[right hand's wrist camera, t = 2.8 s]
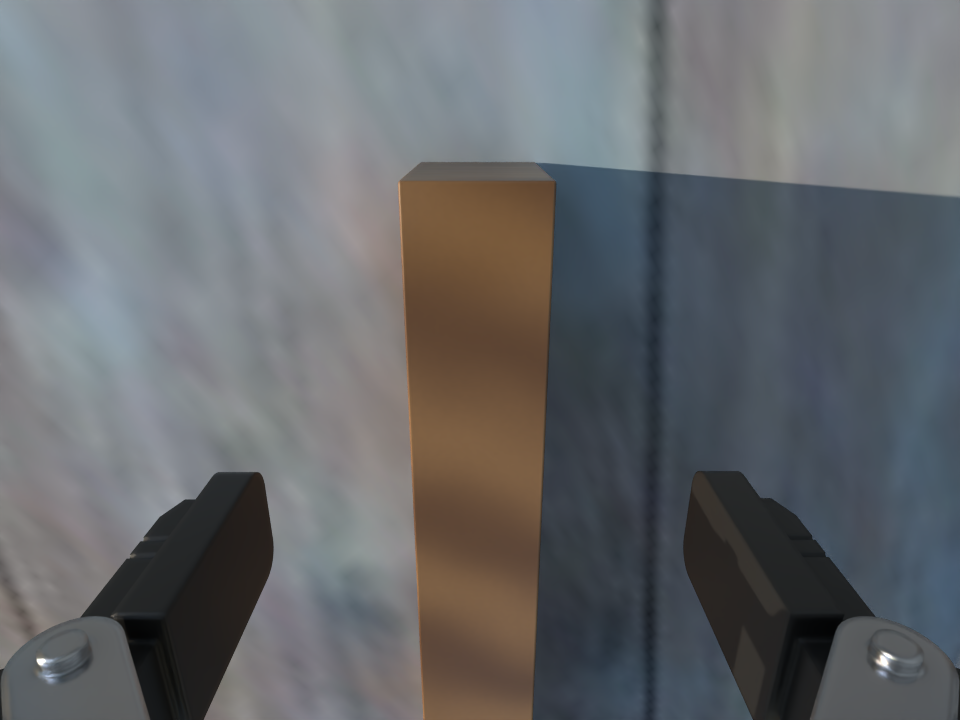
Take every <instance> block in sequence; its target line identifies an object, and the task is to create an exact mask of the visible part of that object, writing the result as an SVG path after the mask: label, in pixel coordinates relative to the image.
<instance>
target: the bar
mask: <svg viewBox="0 0 960 720" xmlns="http://www.w3.org/2000/svg"><path fill="white" fill-rule="evenodd" d="M398 192H399V213H400V234H401V255H402V276H403V297H404V318H405V340H406V361H407V382H408V403H409V424H410V445H411V466H412V487H413V508H414V530H415V551H416V572H417V593H418V614H419V635H420V656H421V677H422V698H423V720H533V700H534V677H535V655H536V632H537V609H538V587H539V564H540V541H541V519H542V496H543V473H544V451H545V428H546V405H547V383H548V360H549V337H550V315H551V292H552V269H553V247H554V224H555V201H556V181H555V180H554V179H553V178H551V177H550V176H549V175H548V174H547V173H546V172H545V171H544V170H543V169H542V168H541V167H539V166H538V165H537V164H536V163H535V162H421V163H420V164H418V165H417V166H416V167H415V168H414V169H413V170H411V171H410V172H409V173H408V174H407V175H406V176H404V177H403V178H402V179H401V180H400V181H399V182H398Z"/></svg>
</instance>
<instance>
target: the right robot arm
mask: <svg viewBox="0 0 960 720" xmlns="http://www.w3.org/2000/svg"><path fill="white" fill-rule="evenodd" d="M683 550H684V561H685V566H686V570H687V573H688V576H689V578H690V580H691V583H692V585H693V587H694V589H695V591H696V594H697V596H698V598H699V600H700V603H701V605H702V607H703V609H704V611H705V614H706V616H707V618H708V620H709V623H710V625H711V627H712V629H713V631H714V634H715V636H716V638H717V640H718V643H719V645H720V647H721V649H722V652H723V654H724V656H725V658H726V660H727V663H728V665H729V667H730V669H731V672H732V674H733V676H734V678H735V680H736V683H737V685H738V687H739V689H740V692H741V694H742V696H743V698H744V700H745V703H746V705H747V707H748V709H749V712H750V714H751V716H752V718H753V720H960V669H958V668H955V666H954V665H953V663H952V661H951V660H950V659H949V658H948V656H947V655H946V654H945V653H944V652H943V651H942V650H941V649H940V648H939V647H938V646H937V645H935V644H934V643H933V642H932V641H930V640H929V639H928V638H926V637H925V636H923V635H922V634H920V633H918V632H916V631H914V630H913V629H911V628H909V627H906V626H904V625H902V624H899V623H897V622H894V621H891V620H887V619H883V618H878V617H875V616H874V614H873V613H872V612H871V610H870V609H869V608H868V607H867V605H866V604H865V603H864V601H863V600H862V599H861V598H860V596H859V595H858V594H857V593H856V591H855V590H854V589H853V587H852V586H851V585H850V584H849V582H848V581H847V580H846V578H845V577H844V576H843V575H842V573H841V572H840V571H839V570H838V568H837V567H836V566H835V564H834V563H833V562H832V561H831V559H830V558H829V557H826V556H825V552H824V550H823V549H822V548H821V547H820V545H819V544H818V543H817V541H816V540H813V539H812V535H811V534H810V533H809V531H808V530H807V529H806V527H805V526H804V525H803V524H802V522H801V521H800V520H799V518H798V517H797V516H796V515H795V514H793V513H792V512H790V511H789V510H787V509H786V508H784V507H783V506H782V505H780V504H779V503H777V502H776V501H774V500H773V499H771V498H760V497H759V496H758V494H757V493H756V491H755V490H754V489H753V487H752V486H751V485H750V483H749V482H748V480H747V479H746V478H745V476H744V475H743V474H742V473H741V472H739V471H698V472H696V474H695V475H694V478H693V482H692V487H691V494H690V501H689V508H688V514H687V521H686V528H685V535H684V544H683ZM272 561H273V537H272V530H271V523H270V517H269V510H268V503H267V497H266V490H265V484H264V480H263V477H262V475H261V474H260V473H259V472H218V473H216V474H214V475H213V477H212V478H211V479H210V481H209V482H208V483H207V485H206V486H205V488H204V489H203V490H202V492H201V493H200V494H199V496H198V497H197V498H196V500H184V501H182V502H181V503H179V504H178V505H176V506H175V507H174V508H172V509H171V510H169V511H168V512H166V513H165V514H163V515H162V516H161V517H159V519H158V520H157V521H156V522H155V524H154V525H153V526H152V527H151V529H150V530H149V531H148V533H147V534H146V535H145V536H144V540H143V541H140V543H139V544H138V545H137V546H136V548H135V549H134V550H133V552H132V553H131V554H130V559H126V560H125V562H124V563H123V564H122V565H121V567H120V568H119V569H118V571H117V572H116V573H115V574H114V576H113V577H112V578H111V579H110V581H109V582H108V583H107V584H106V586H105V587H104V588H103V589H102V591H101V592H100V593H99V595H98V596H97V597H96V598H95V600H94V601H93V602H92V603H91V605H90V606H89V607H88V608H87V610H86V611H85V612H84V614H83V615H82V616H81V617H80V618H77V619H73V620H69V621H66V622H63V623H61V624H58V625H56V626H54V627H51V628H49V629H47V630H46V631H44V632H42V633H40V634H38V635H37V636H35V637H34V638H32V639H31V640H30V641H28V642H27V643H26V644H25V645H23V646H22V647H21V648H20V649H19V650H18V651H17V652H16V653H15V654H14V655H13V656H12V658H11V659H10V660H9V661H8V663H7V665H6V666H5V668H4V669H1V670H0V720H204V718H205V715H206V713H207V711H208V709H209V707H210V704H211V702H212V700H213V698H214V696H215V693H216V691H217V689H218V687H219V685H220V682H221V680H222V678H223V676H224V674H225V671H226V669H227V667H228V665H229V663H230V660H231V658H232V656H233V654H234V652H235V649H236V647H237V645H238V643H239V641H240V638H241V636H242V634H243V632H244V630H245V627H246V625H247V623H248V621H249V619H250V616H251V614H252V612H253V610H254V608H255V605H256V603H257V601H258V599H259V597H260V594H261V592H262V590H263V588H264V586H265V583H266V581H267V579H268V577H269V574H270V571H271V567H272Z"/></svg>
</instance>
